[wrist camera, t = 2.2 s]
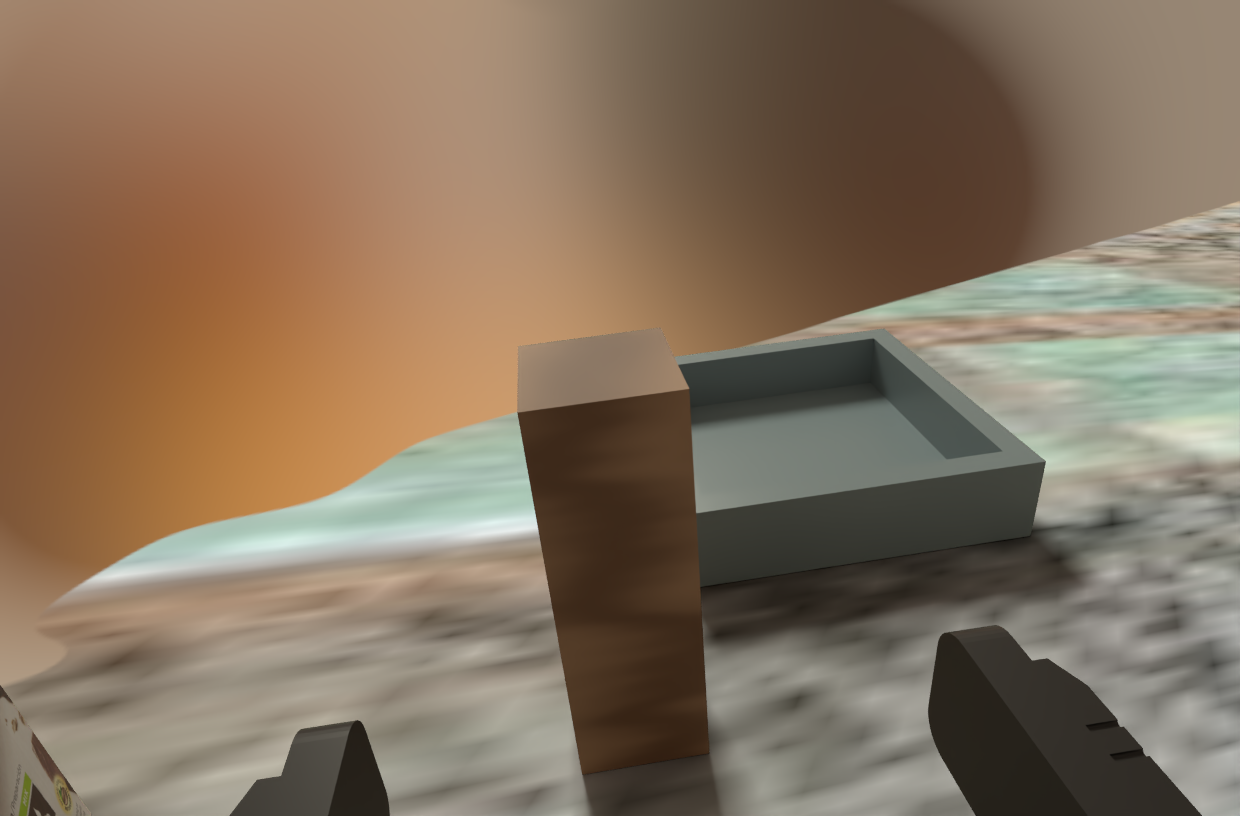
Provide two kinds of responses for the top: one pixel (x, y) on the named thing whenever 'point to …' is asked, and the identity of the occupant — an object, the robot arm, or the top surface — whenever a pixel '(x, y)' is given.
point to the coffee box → (30, 772)
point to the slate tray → (844, 458)
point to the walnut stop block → (619, 541)
